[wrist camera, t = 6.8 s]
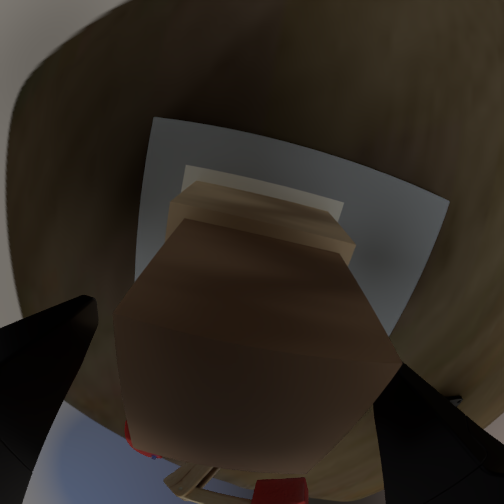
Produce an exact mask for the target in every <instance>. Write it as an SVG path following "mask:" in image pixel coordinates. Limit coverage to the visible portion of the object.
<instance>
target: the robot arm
mask: <svg viewBox="0 0 504 504" xmlns="http://www.w3.org/2000/svg"><path fill="white" fill-rule="evenodd" d="M97 326H98V311H97V302H96V299H95V298H93V297H90V296H87V295H81V296H79V297H76V298H74V299H71V300H69V301H66V302H63V303H61V304H58V305H56V306H53V307H51V308H48V309H46V310H43V311H41V312H39V313H36V314H34V315H31V316H29V317H26V318H24V319H21V320H19V321H16V322H14V323H12V324H9V325H7V326H4V327H2V328H0V504H22V502H23V499H24V496H25V493H26V490H27V487H28V484H29V481H30V478H31V475H32V471H33V469H34V467H35V464H36V462H37V459H38V456H39V454H40V451H41V449H42V447H43V444H44V442H45V440H46V437H47V435H48V433H49V430H50V428H51V426H52V424H53V421H54V419H55V417H56V415H57V413H58V411H59V408H60V406H61V404H62V402H63V400H64V398H65V396H66V394H67V392H68V390H69V388H70V386H71V384H72V382H73V380H74V379H75V377H76V375H77V373H78V371H79V369H80V367H81V365H82V362H83V360H84V357H85V355H86V352H87V350H88V347H89V345H90V343H91V340H92V338H93V336H94V333H95V331H96V329H97ZM402 363H403V362H402ZM462 400H463V399H462V397H461V396H456V397H449V398H445V397H444V396H443V395H442V394H440V393H439V392H438V391H437V390H436V389H434V388H433V387H432V386H431V385H430V384H428V383H427V382H426V381H425V380H424V379H423V378H421V377H420V376H419V375H418V374H417V373H415V372H414V371H413V370H412V369H411V368H409V367H408V366H407V365H406V364H405V363H403V364H402V365H401V367H400V368H399V370H398V371H397V373H396V374H395V375H394V377H393V378H392V380H391V381H390V382H389V384H388V385H387V386H386V388H385V389H384V390H383V392H382V393H381V394H380V395H379V397H378V398H377V399H376V400H375V402H374V403H373V408H374V419H375V425H376V431H377V437H378V443H379V450H380V457H381V464H382V472H383V481H384V490H385V500H386V504H504V444H502V443H501V442H500V441H498V440H497V439H495V438H494V437H493V436H491V435H490V434H489V433H487V432H486V431H485V430H483V429H482V428H481V427H480V426H478V425H477V424H476V423H475V422H474V421H472V420H471V419H470V418H469V417H468V416H465V414H464V413H463V412H462V411H461V410H459V409H458V408H457V406H458V405H459V404H460V403H461V401H462Z"/></svg>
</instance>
